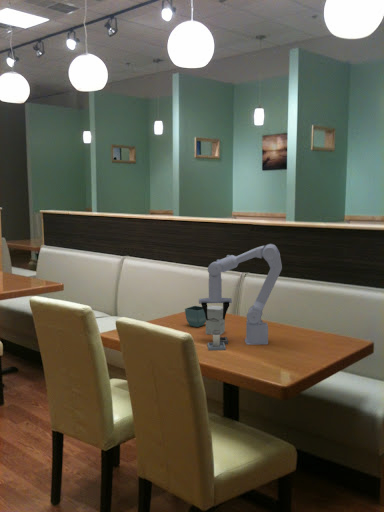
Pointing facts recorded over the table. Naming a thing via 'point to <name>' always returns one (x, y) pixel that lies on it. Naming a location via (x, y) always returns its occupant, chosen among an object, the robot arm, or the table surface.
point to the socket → (224, 340)
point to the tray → (210, 347)
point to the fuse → (216, 338)
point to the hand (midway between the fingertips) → (215, 319)
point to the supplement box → (215, 320)
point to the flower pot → (195, 316)
